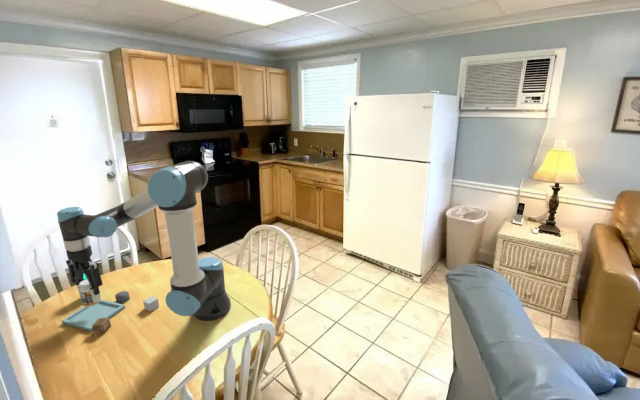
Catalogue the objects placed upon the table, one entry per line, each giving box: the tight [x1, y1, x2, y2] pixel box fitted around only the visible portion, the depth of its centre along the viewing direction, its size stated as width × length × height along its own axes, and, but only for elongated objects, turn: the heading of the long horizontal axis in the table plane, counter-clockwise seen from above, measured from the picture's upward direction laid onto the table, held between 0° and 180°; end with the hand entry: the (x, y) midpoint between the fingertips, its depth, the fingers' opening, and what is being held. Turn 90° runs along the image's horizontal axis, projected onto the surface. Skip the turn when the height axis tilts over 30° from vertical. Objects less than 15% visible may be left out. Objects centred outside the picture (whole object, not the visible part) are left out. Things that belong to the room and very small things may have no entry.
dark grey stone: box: [114, 290, 131, 304], centre depth 137 cm, size 5×5×3 cm
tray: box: [61, 298, 126, 332], centre depth 127 cm, size 15×15×2 cm
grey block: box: [143, 295, 160, 313], centre depth 132 cm, size 4×4×4 cm
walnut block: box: [92, 318, 112, 335], centre depth 119 cm, size 4×4×4 cm
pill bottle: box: [78, 279, 100, 307], centre depth 124 cm, size 6×6×10 cm
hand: (90, 299), depth 125 cm, fingers closed on pill bottle, 6 cm apart
